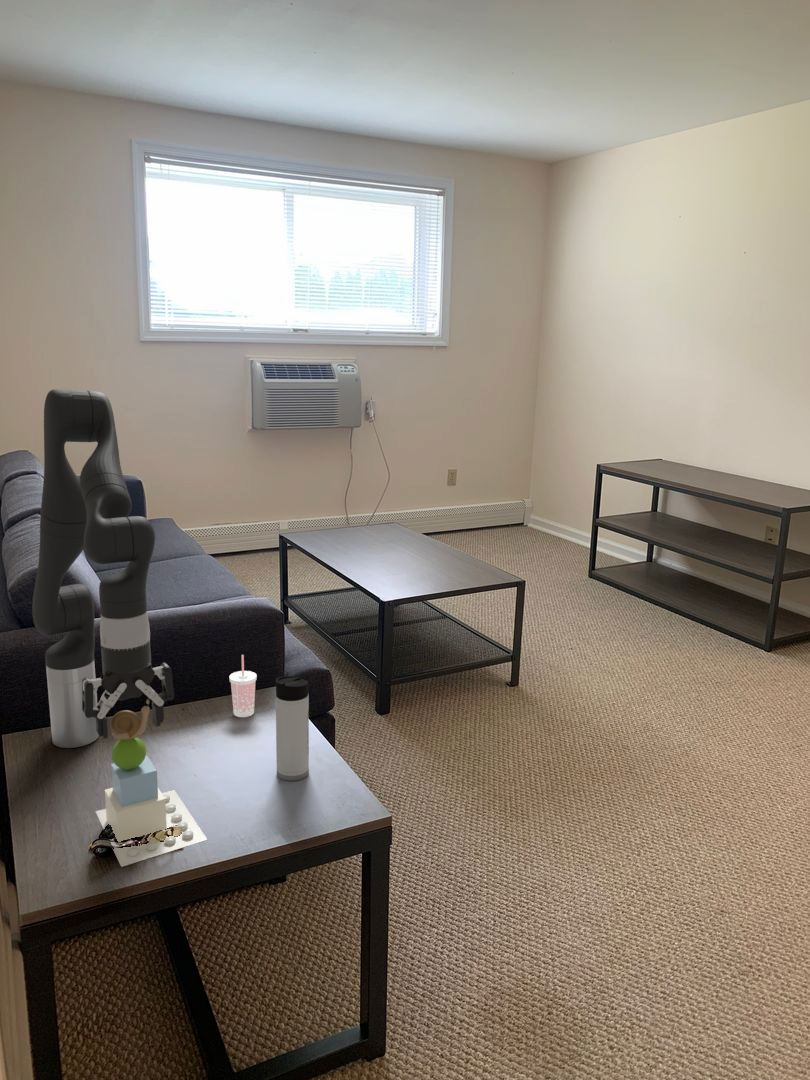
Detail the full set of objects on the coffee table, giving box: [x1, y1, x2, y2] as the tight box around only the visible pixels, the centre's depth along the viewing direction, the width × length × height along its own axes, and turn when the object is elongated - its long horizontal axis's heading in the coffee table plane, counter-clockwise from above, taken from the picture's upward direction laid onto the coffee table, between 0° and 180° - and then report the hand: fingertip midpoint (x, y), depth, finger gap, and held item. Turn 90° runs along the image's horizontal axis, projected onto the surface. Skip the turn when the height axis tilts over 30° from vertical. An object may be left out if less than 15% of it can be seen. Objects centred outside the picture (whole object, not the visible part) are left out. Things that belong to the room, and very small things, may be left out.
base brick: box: [104, 787, 167, 842], centre depth 136 cm, size 8×8×6 cm
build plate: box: [94, 789, 208, 868], centre depth 137 cm, size 18×14×2 cm
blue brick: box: [110, 754, 159, 807], centre depth 135 cm, size 6×6×5 cm
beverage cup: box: [229, 654, 258, 718], centre depth 181 cm, size 6×6×14 cm
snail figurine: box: [110, 698, 151, 770], centre depth 133 cm, size 5×6×12 cm
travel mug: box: [275, 675, 310, 782], centre depth 154 cm, size 6×7×20 cm
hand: (130, 730), depth 133 cm, fingers open, 8 cm apart
